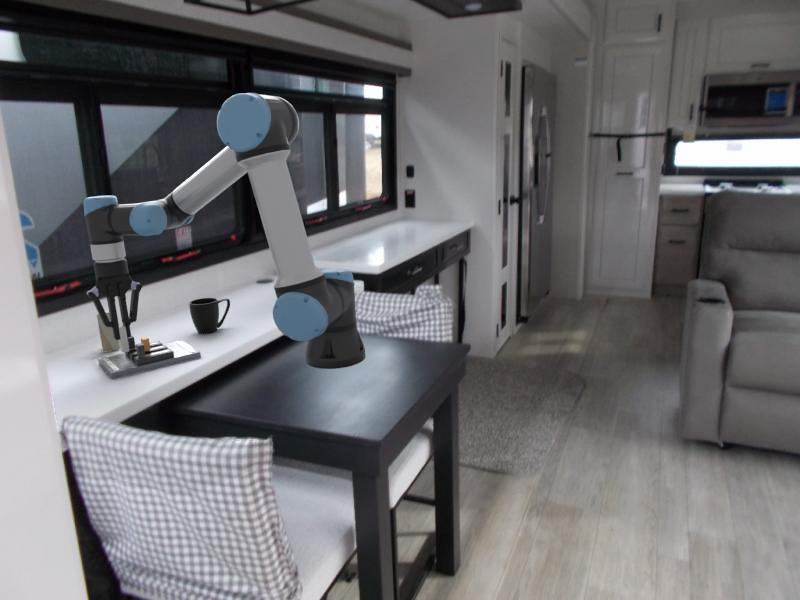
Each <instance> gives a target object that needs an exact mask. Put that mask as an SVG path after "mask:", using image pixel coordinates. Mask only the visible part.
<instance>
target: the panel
mask: <svg viewBox="0 0 800 600" xmlns="http://www.w3.org/2000/svg"><path fill="white" fill-rule="evenodd" d="M127 339H128V345H129V351H128V352H124V353H123V352H122V353H120V354H114V355H110V356H105V357H103V358H101V357H100V358H99V359H97V361H98V365H99V366H100V367H101V368H102V370H103V371H104V372H105V373H106V374H107V375H108V376H109V377H110V378H111V379H112V380H114V379H118V378H121V377H126V376H129V375H134V374H138V373H142V372H146V371H151V370H154V369H159V368H163V367H167V366H170V365H173V364H174V365H175V364H178V363H182V362H188V361H191V360H194V359H199V358H201V357H202V355H201V351H200V350H198V349H196V348H195V347H194V346H192V345H190V344H189V343H187V342H186V341H184V340H178V341H173V342H168V343H164V344H163V342H161V341H154V342H149V343H150V349H151V350H147V351H145V348H144V344H142V343H141V342H140V343H136V341H135V336H133V335H132V334H131V337H129V338H127Z"/></svg>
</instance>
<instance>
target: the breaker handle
mask: <svg viewBox="0 0 800 600" xmlns="http://www.w3.org/2000/svg"><path fill="white" fill-rule="evenodd" d="M140 343H142V344H144V348H145V351H147V350H151V349H150V343H151V342H150V338H149V337H148V336H145V337H140Z"/></svg>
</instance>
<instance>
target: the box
mask: <svg viewBox="0 0 800 600" xmlns="http://www.w3.org/2000/svg"><path fill="white" fill-rule="evenodd" d="M104 310H105V313H106V315H107V317H108V319H109V321H111V319H110V314H109V308H106V309H105V308H104ZM96 318H97V324H98V330H99V335H100V336H99V337H100V342H101V347H102V352H103V353H106V352H115V351H119V350H120V344H119V340H116V339H115V338H114V335H113V329H112V327H106V326H105V325H104V324H103V322H102V320H101V318H100V315H99V313H98V311H97V312H96ZM120 351H121V350H120Z"/></svg>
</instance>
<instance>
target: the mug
mask: <svg viewBox="0 0 800 600" xmlns="http://www.w3.org/2000/svg"><path fill="white" fill-rule="evenodd" d="M225 301H226V307H225V311H224V314H223V315H222V318H221V319H220V307H219V304H220V303H221V302H225ZM188 305H189V306H188V307H189V313H190V316H191V320H192V323H193V325H194V327H195V330H196V332H197V333H198V334H199V335H208V334H213V333H215V332H217V331H218V329H219V328H221V327H222V325H223V324H224V322H225V320H226V317H227V315H228V313H229V309H230V306H231V301H230V299H229V298H222V299H219V300H218V298H215V297H202V298H197V299H194V300H193V299H192V300H191V301H189V303H188ZM219 319H220V321H219Z"/></svg>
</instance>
